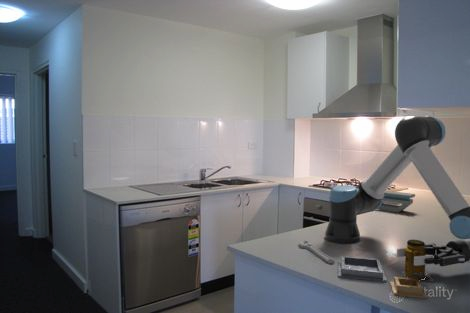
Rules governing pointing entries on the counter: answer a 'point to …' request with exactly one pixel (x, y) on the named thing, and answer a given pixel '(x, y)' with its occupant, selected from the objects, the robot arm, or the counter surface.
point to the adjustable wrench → (316, 251)
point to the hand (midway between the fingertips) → (405, 256)
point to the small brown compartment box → (408, 287)
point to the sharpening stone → (398, 198)
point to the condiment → (411, 270)
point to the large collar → (361, 269)
